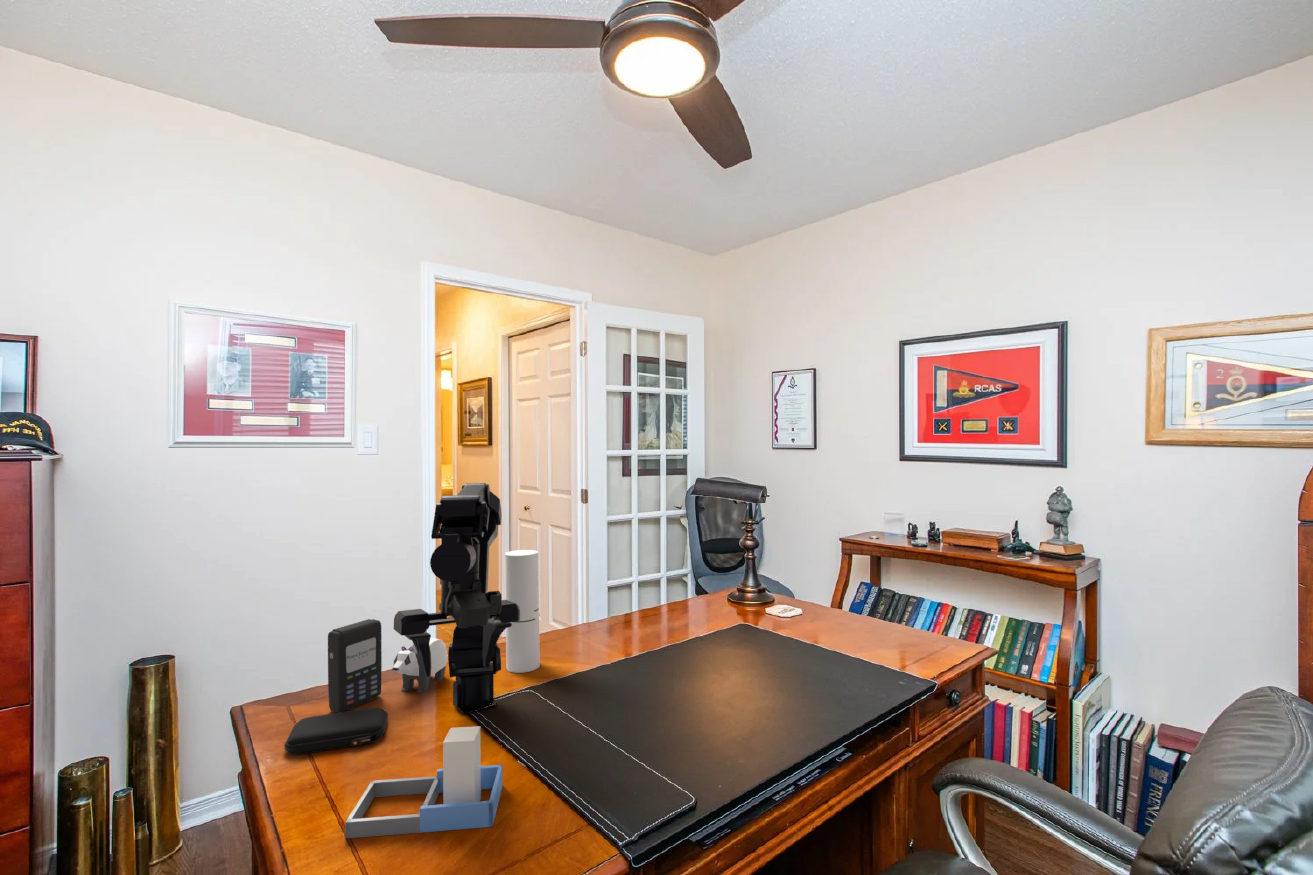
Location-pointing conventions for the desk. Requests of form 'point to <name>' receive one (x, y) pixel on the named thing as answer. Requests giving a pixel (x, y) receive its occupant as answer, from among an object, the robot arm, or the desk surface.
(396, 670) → the giant panda
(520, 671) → the cylindrical container
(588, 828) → the desk surface
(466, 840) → the desk surface
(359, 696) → the card reader
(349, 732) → the carrying case or bag
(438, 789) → the organizer
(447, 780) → the white rectangular block
